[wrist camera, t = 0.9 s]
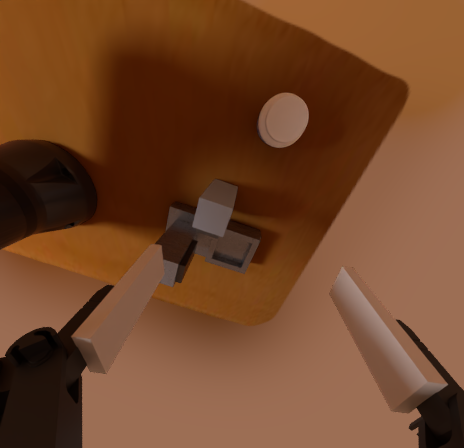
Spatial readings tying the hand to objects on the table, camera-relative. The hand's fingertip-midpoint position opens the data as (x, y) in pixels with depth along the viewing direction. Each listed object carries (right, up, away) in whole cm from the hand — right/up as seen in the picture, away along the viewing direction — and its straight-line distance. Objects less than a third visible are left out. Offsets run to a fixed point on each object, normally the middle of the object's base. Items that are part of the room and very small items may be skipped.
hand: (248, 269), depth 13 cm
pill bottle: (+5, +17, +12) cm, 22 cm away
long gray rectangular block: (-3, +9, +17) cm, 19 cm away
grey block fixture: (-5, +2, +20) cm, 21 cm away
